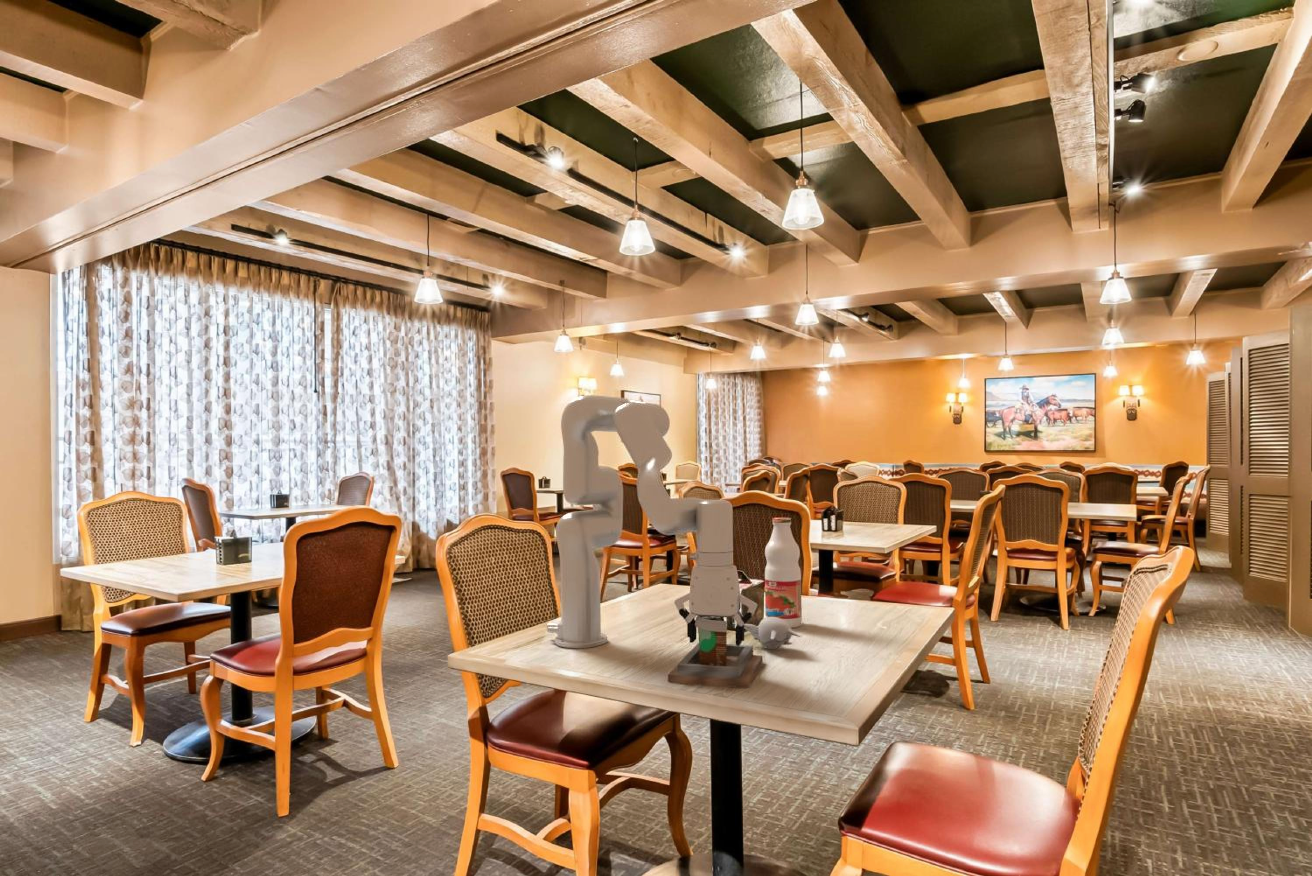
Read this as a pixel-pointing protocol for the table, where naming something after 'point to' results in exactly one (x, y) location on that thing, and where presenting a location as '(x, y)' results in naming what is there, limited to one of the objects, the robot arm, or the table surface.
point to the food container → (712, 640)
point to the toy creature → (771, 632)
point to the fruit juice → (783, 575)
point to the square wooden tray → (719, 668)
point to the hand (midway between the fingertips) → (715, 642)
